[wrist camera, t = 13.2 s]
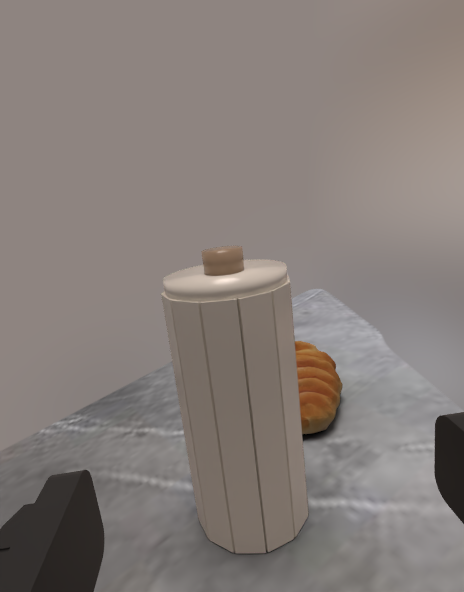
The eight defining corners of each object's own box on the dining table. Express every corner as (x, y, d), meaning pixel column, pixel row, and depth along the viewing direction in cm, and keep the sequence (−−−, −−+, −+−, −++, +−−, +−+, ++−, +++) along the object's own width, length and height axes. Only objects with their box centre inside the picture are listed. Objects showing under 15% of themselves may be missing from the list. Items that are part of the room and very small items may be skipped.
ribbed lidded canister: (226, 574, 17) (179, 267, 13) (185, 492, 22) (144, 254, 18) (330, 519, 19) (312, 242, 16) (271, 456, 24) (249, 237, 21)
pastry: (360, 440, 25) (357, 386, 24) (256, 448, 25) (249, 396, 24) (331, 375, 34) (328, 334, 33) (254, 381, 34) (250, 341, 34)
